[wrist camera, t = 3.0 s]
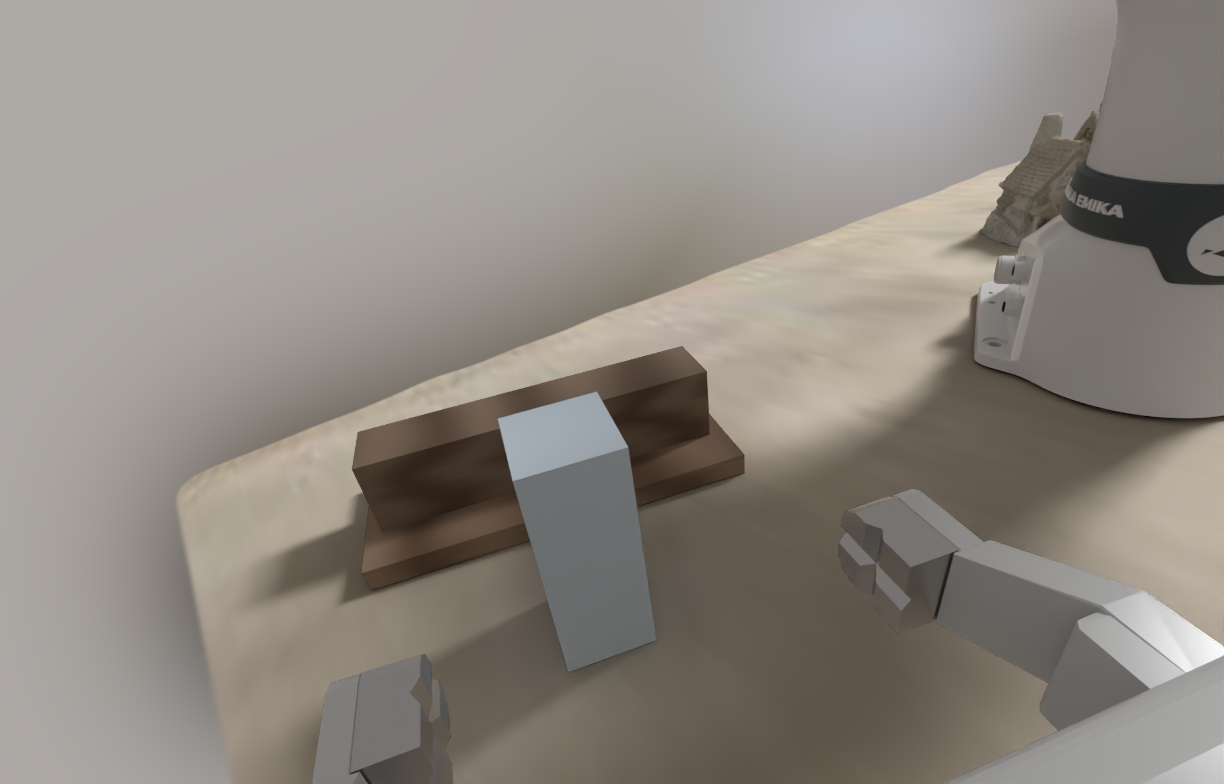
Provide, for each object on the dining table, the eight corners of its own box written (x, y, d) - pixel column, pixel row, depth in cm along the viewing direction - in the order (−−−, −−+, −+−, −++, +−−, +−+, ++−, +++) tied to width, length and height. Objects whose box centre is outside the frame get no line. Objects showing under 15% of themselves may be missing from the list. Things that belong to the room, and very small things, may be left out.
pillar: (627, 572, 32) (596, 391, 25) (656, 640, 28) (628, 447, 22) (549, 599, 31) (497, 418, 25) (568, 672, 27) (512, 481, 21)
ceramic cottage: (967, 222, 71) (1003, 88, 62) (1113, 214, 69) (1172, 74, 60) (1026, 275, 59) (1082, 117, 50) (1208, 267, 56) (1299, 100, 47)
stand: (684, 399, 46) (678, 326, 42) (744, 472, 37) (743, 389, 34) (379, 485, 41) (346, 412, 38) (370, 590, 33) (326, 508, 30)
